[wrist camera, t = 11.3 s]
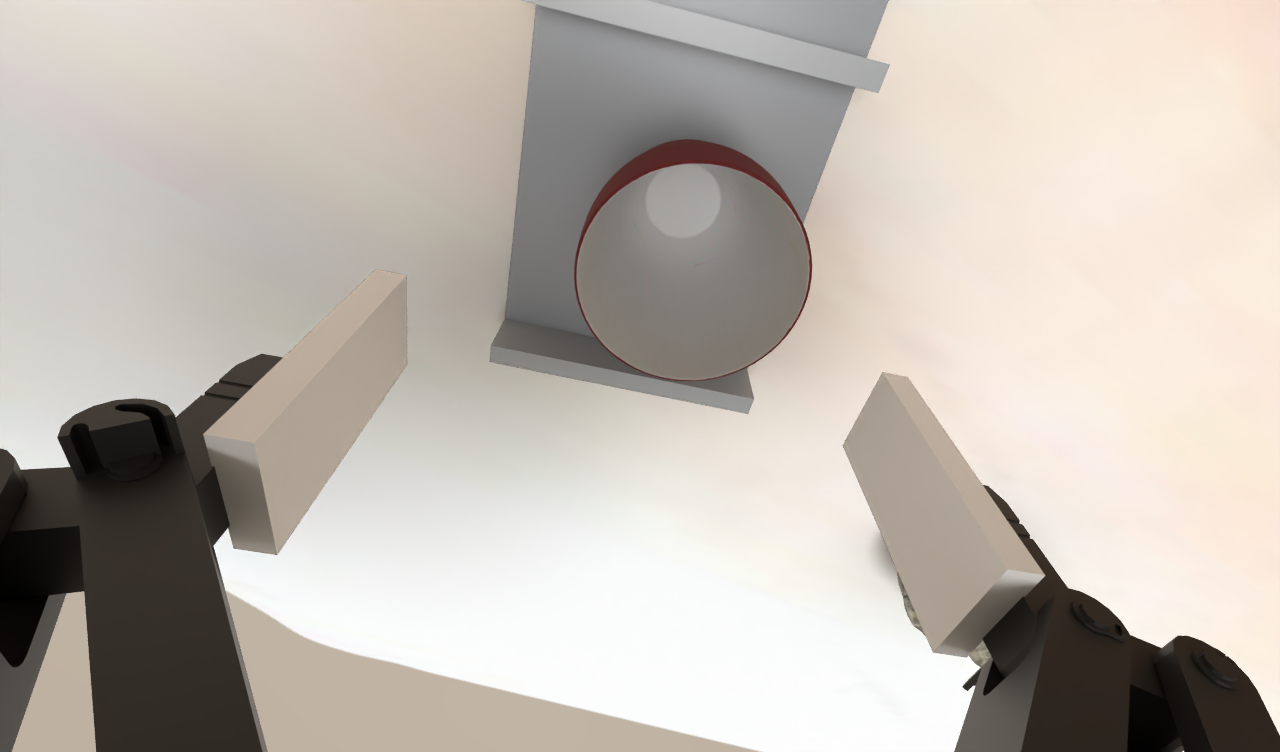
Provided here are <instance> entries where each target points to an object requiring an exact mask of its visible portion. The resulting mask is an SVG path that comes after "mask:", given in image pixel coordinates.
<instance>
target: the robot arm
mask: <svg viewBox="0 0 1280 752" xmlns="http://www.w3.org/2000/svg"><path fill="white" fill-rule="evenodd" d="M406 365H407V276H406V275H402V274H397V273H392V272H387V271H382V270H377V269H376V270H375V271H373V272H372V273H371V274H370V275H369V276H368V277H367V278H366V279H365V280H364V281H363V282H362V283H361V284H360V285H359V286H358V287H357V288H356V289H355V290H354V291H353V292H351V293H350V294H349V295H348V296H347V297H346V298H345V299H344V300H343V301H342V302H341V303H340V304H339V305H338V306H337V307H336V308H335V309H334V310H333V311H332V312H331V313H330V314H328V315H327V316H326V317H325V318H324V319H323V320H322V321H321V322H320V323H319V324H318V325H317V326H316V327H315V328H314V329H313V330H312V331H311V332H310V333H309V334H308V335H306V336H305V337H304V338H303V339H302V340H301V341H300V342H299V343H298V344H297V345H296V346H295V347H294V348H293V349H292V350H291V351H290V352H289V353H288V354H287V355H286V356H284V357H283V358H282V357H277V356H271V355H266V354H260V355H258V356H256V357H253V358H251V359H249V360H247V361H244V362H242V363H240V364H237V365H236V366H235V367H234V368H232V369H231V370H230V371H229V372H228V373H227V374H225V375H224V376H223V377H222V378H221V379H220V380H219V383H215V384H214V385H213V386H212V387H210V388H209V389H208V390H207V391H206V392H205V395H204V396H202V395H201V396H200V397H199V398H198V399H197V400H195V401H194V402H193V403H192V404H191V405H190V406H188V407H187V408H186V409H185V410H184V411H183V412H182V413H180V414H179V415H178V416H177V417H176V418H175V415H174V413H173V412H172V411H171V409H170V408H169V407H168V406H167V405H165V404H162V403H160V402H157V401H155V400H146V399H137V398H136V399H125V400H115V401H111V402H107V403H103V404H100V405H96V406H93V407H90V408H88V409H86V410H84V411H82V412H80V413H78V414H76V415H74V416H73V417H72V418H70V419H69V420H68V421H67V422H66V423H65V424H63V425H62V426H61V429H60V432H59V434H58V437H57V438H58V440H59V442H60V444H61V447H62V449H63V451H64V453H65V455H66V458H67V460H68V462H69V464H70V466H71V467H64V468H46V469H28V470H21V469H20V467H19V466H18V464H17V462H16V460H15V458H14V457H13V456H12V455H11V454H10V453H9V452H8V451H7V450H4V449H0V752H12V749H13V746H14V743H15V740H16V737H17V734H18V731H19V729H20V726H21V723H22V720H23V717H24V714H25V711H26V708H27V705H28V703H29V700H30V697H31V694H32V691H33V688H34V685H35V682H36V680H37V677H38V673H39V671H40V668H41V665H42V662H43V659H44V656H45V654H46V651H47V648H48V645H49V642H50V639H51V636H52V633H53V630H54V628H55V625H56V622H57V619H58V616H59V613H60V610H61V607H62V604H63V602H64V598H65V595H66V593H72V592H81V591H84V592H85V606H86V619H87V632H88V646H89V659H90V673H91V686H92V699H93V713H94V726H95V740H96V752H268V751H267V748H266V744H265V740H264V736H263V732H262V729H261V725H260V721H259V718H258V714H257V710H256V706H255V702H254V698H253V694H252V691H251V687H250V683H249V679H248V676H247V671H246V668H245V664H244V660H243V656H242V653H241V649H240V645H239V641H238V637H237V634H236V630H235V626H234V622H233V618H232V614H231V611H230V607H229V603H228V599H227V595H226V592H225V588H224V584H223V580H222V576H221V573H220V569H219V565H218V561H217V557H216V554H215V550H214V547H213V546H214V544H215V543H216V542H217V541H218V539H219V538H220V537H221V536H222V534H223V533H224V532H225V531H226V530H227V528H228V529H229V533H230V537H231V540H232V544H233V548H234V549H241V550H248V551H254V552H261V553H268V554H274V555H278V553H279V552H280V550H281V549H282V547H283V546H284V544H285V543H286V541H287V540H288V538H289V537H290V536H291V534H292V533H293V531H294V530H295V528H296V527H297V525H298V524H299V522H300V521H301V519H302V518H303V516H304V515H305V514H306V512H307V511H308V509H309V508H310V506H311V505H312V503H313V502H314V500H315V499H316V497H317V496H318V494H319V493H320V492H321V490H322V489H323V487H324V486H325V484H326V483H327V481H328V480H329V478H330V477H331V475H332V474H333V472H334V471H335V469H336V468H337V467H338V465H339V464H340V462H341V461H342V459H343V458H344V456H345V455H346V453H347V452H348V450H349V449H350V447H351V446H352V445H353V443H354V442H355V440H356V439H357V437H358V436H359V434H360V433H361V431H362V430H363V428H364V427H365V425H366V424H367V423H368V421H369V420H370V418H371V417H372V415H373V414H374V412H375V411H376V409H377V408H378V406H379V405H380V403H381V402H382V401H383V399H384V398H385V396H386V395H387V393H388V392H389V390H390V389H391V387H392V386H393V384H394V383H395V381H396V380H397V378H398V377H399V376H400V374H401V373H402V371H403V370H404V368H405V367H406ZM843 448H844V450H845V452H846V454H847V457H848V459H849V461H850V464H851V466H852V468H853V471H854V473H855V475H856V477H857V480H858V482H859V484H860V487H861V489H862V491H863V493H864V496H865V498H866V500H867V503H868V505H869V507H870V509H871V512H872V514H873V516H874V519H875V521H876V523H877V525H878V528H879V530H880V532H881V535H882V537H883V539H884V542H885V544H886V546H887V548H888V551H889V553H890V555H891V558H892V560H893V562H894V564H895V567H896V569H897V571H898V574H899V576H900V578H901V580H902V583H903V585H904V587H905V590H906V592H907V594H908V596H909V599H910V601H911V603H912V606H913V608H914V610H915V613H916V615H917V617H918V619H919V622H920V624H921V626H922V629H923V631H924V633H925V635H926V638H927V640H928V642H929V645H930V647H931V649H932V651H933V652H934V653H940V654H947V655H954V656H960V657H967V656H968V655H969V654H970V653H971V652H972V651H973V650H974V649H975V648H976V647H977V646H978V645H979V644H980V643H981V642H982V641H984V643H985V645H986V647H987V649H988V651H989V653H990V655H991V658H990V659H989V660H988V661H987V662H986V663H985V664H984V665H983V666H982V667H981V668H980V669H979V670H978V671H977V672H976V673H975V674H974V675H973V676H972V677H971V678H970V679H969V680H968V681H967V682H966V683H965V684H964V685H963V688H964V689H966V690H967V691H968V690H969V689H970V688H971V687H972V686H974V685H976V687H975V690H974V693H973V696H972V699H971V702H970V705H969V708H968V711H967V714H966V718H965V721H964V724H963V727H962V730H961V733H960V736H959V739H958V742H957V745H956V748H955V751H954V752H1182V751H1184V752H1280V735H1279V733H1278V731H1277V729H1276V727H1275V725H1274V723H1273V721H1272V719H1271V717H1270V715H1269V713H1268V711H1267V709H1266V707H1265V705H1264V703H1263V701H1262V699H1261V697H1260V695H1259V693H1258V691H1257V689H1256V688H1255V686H1254V685H1253V683H1252V682H1251V680H1250V679H1249V677H1248V676H1247V675H1246V674H1245V673H1244V672H1243V671H1242V670H1241V669H1240V668H1239V667H1238V666H1237V664H1236V663H1235V662H1234V661H1233V660H1231V659H1230V658H1229V657H1228V656H1227V657H1226V656H1225V654H1224V653H1222V652H1221V651H1219V650H1218V649H1216V648H1213V647H1212V646H1210V645H1208V644H1206V643H1205V642H1203V641H1201V640H1198V639H1195V638H1192V637H1190V636H1177V637H1176V638H1174V639H1173V640H1172V641H1170V642H1169V643H1168V644H1167V645H1165V646H1164V647H1163V648H1160V647H1157V646H1155V645H1153V644H1150V643H1148V642H1145V641H1143V640H1141V639H1138V638H1136V637H1133V636H1131V635H1129V632H1128V631H1127V629H1126V628H1125V626H1124V625H1123V623H1122V622H1121V621H1120V620H1119V619H1118V618H1117V617H1116V616H1115V615H1114V614H1113V613H1112V612H1111V611H1110V610H1109V609H1108V608H1107V607H1106V606H1104V605H1103V604H1101V603H1100V602H1099V601H1097V600H1096V599H1094V598H1092V597H1090V596H1088V595H1086V594H1084V593H1082V592H1080V591H1076V590H1073V589H1069V588H1067V586H1066V585H1065V583H1064V582H1063V581H1062V579H1061V578H1060V576H1059V575H1058V574H1057V572H1056V571H1055V569H1054V568H1053V567H1052V565H1051V564H1050V562H1049V561H1048V560H1047V558H1046V557H1045V555H1044V554H1043V553H1042V551H1041V550H1040V548H1039V547H1038V546H1037V544H1036V543H1035V541H1034V540H1033V539H1030V535H1029V533H1028V532H1027V530H1026V529H1025V528H1024V526H1023V525H1022V524H1019V522H1020V521H1019V519H1018V518H1017V516H1016V515H1015V514H1014V512H1013V511H1012V509H1011V508H1010V507H1009V505H1008V504H1007V503H1006V502H1005V501H1004V500H1003V499H1002V498H1001V497H1000V496H999V495H997V494H996V493H995V492H994V491H993V490H992V489H991V488H990V487H989V486H985V485H982V483H981V482H980V481H979V479H978V478H977V476H976V475H975V473H974V472H973V470H972V469H971V468H970V466H969V465H968V463H967V462H966V460H965V459H964V457H963V456H962V455H961V453H960V452H959V450H958V449H957V447H956V446H955V444H954V443H953V442H952V440H951V439H950V437H949V436H948V434H947V433H946V431H945V430H944V429H943V427H942V426H941V424H940V423H939V421H938V420H937V418H936V417H935V416H934V414H933V413H932V411H931V410H930V408H929V407H928V406H927V404H926V403H925V401H924V400H923V398H922V397H921V395H920V394H919V393H918V391H917V390H916V388H915V387H914V385H913V384H912V382H911V381H910V380H909V378H908V377H904V376H899V375H894V374H890V373H885V372H882V374H881V376H880V378H879V380H878V382H877V383H876V385H875V387H874V389H873V391H872V393H871V394H870V396H869V398H868V400H867V402H866V404H865V405H864V407H863V409H862V411H861V413H860V415H859V416H858V418H857V420H856V422H855V424H854V425H853V427H852V429H851V431H850V433H849V435H848V436H847V438H846V440H845V442H844V444H843Z"/></svg>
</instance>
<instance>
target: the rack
mask: <svg viewBox="0 0 1280 752" xmlns="http://www.w3.org/2000/svg"><path fill="white" fill-rule="evenodd" d="M521 1H525V2H529V3H533V4H536V12H535V22H534V32H533V42H532V52H531V62H530V72H529V82H528V92H527V102H526V113H525V123H524V133H523V143H522V153H521V163H520V173H519V183H518V193H517V203H516V213H515V223H514V233H513V243H512V253H511V263H510V273H509V283H508V293H507V303H506V313H505V320H504V321H503V323H502V325H501V327H500V329H499V331H498V333H497V335H496V337H495V339H494V341H493V343H492V345H491V352H490V362H493V363H498V364H503V365H508V366H513V367H518V368H523V369H528V370H533V371H538V372H543V373H548V374H552V375H557V376H562V377H567V378H572V379H577V380H582V381H587V382H592V383H597V384H602V385H607V386H612V387H617V388H622V389H627V390H632V391H637V392H642V393H647V394H652V395H657V396H662V397H667V398H672V399H677V400H682V401H687V402H692V403H696V404H701V405H706V406H711V407H716V408H721V409H726V410H731V411H736V412H741V413H746V414H748V413H749V410H750V408H751V405H752V403H753V400H754V397H753V393H752V389H751V384H750V380H749V376H748V372H747V368H748V367H747V368H745V369H743V370H740V371H738V372H736V373H733V374H730V375H727V376H724V377H720V378H716V379H710V380H704V381H674V380H667V379H662V378H658V377H654V376H651V375H648V374H645V373H642V372H640V371H638V370H636V369H633V368H632V367H630V366H628V365H626V364H625V363H623V362H622V361H620V360H619V359H617V358H616V357H615V356H613V355H612V354H611V353H610V352H609V351H608V350H607V349H606V348H605V347H604V346H602V345H601V343H600V342H599V341H598V340H597V339H596V337H595V336H594V335H593V333H592V332H591V330H590V329H589V327H588V325H587V323H586V322H585V320H584V317H583V315H582V313H581V310H580V307H579V304H578V301H577V296H576V291H575V283H574V265H575V256H576V252H577V247H578V243H579V239H580V235H581V232H582V229H583V226H584V223H585V221H586V218H587V215H588V213H589V210H590V208H591V206H592V204H593V202H594V201H595V199H596V197H597V196H598V194H599V192H600V191H601V190H602V188H603V187H604V186H605V184H606V183H607V182H608V181H609V180H610V178H611V177H612V176H613V175H614V174H615V173H616V172H617V171H618V170H619V169H621V168H622V167H623V166H624V165H625V164H627V163H628V162H629V161H631V160H632V159H634V158H635V157H637V156H639V155H640V154H642V153H644V152H646V151H647V150H649V149H651V148H653V147H655V146H657V145H660V144H663V143H666V142H670V141H674V140H682V139H694V140H702V141H707V142H711V143H716V144H720V145H723V146H726V147H729V148H732V149H734V150H736V151H738V152H741V153H742V154H744V155H746V156H748V157H749V158H751V159H753V160H754V161H755V162H757V163H758V164H759V165H761V166H762V167H763V168H764V169H765V170H766V171H767V172H769V173H770V174H771V175H772V176H773V178H774V179H775V180H776V181H777V182H778V183H779V184H780V186H781V187H782V189H783V190H784V192H785V193H786V194H787V196H788V198H789V199H790V201H791V202H792V204H793V206H794V208H795V210H796V212H797V213H798V215H799V217H800V219H801V221H802V223H803V222H804V219H805V217H806V214H807V212H808V209H809V206H810V204H811V201H812V199H813V196H814V193H815V191H816V188H817V185H818V183H819V180H820V178H821V175H822V172H823V170H824V167H825V165H826V162H827V159H828V157H829V154H830V152H831V149H832V146H833V144H834V141H835V139H836V136H837V133H838V131H839V128H840V126H841V123H842V120H843V118H844V115H845V113H846V110H847V107H848V105H849V102H850V100H851V97H852V94H853V92H854V89H855V87H857V88H861V89H865V90H868V91H872V92H876V93H879V90H880V88H881V85H882V83H883V80H884V78H885V75H886V73H887V70H888V68H889V66H890V64H886V63H882V62H878V61H875V60H871V59H867V55H868V53H869V50H870V47H871V45H872V42H873V40H874V37H875V34H876V32H877V29H878V27H879V24H880V21H881V19H882V16H883V14H884V11H885V8H886V6H887V3H888V1H889V0H521Z"/></svg>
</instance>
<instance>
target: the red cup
mask: <svg viewBox="0 0 1280 752" xmlns="http://www.w3.org/2000/svg"><path fill="white" fill-rule="evenodd" d="M811 276H812V258H811V250H810V245H809V241H808V237H807V233H806V231H805V228H804V226H803V223H802V221H801V219H800V217H799V215H798V213H797V212H796V210H795V208H794V206H793V204H792V202H791V201H790V199H789V198H788V196H787V194H786V193H785V192H784V190H783V189H782V187H781V186H780V184H779V183H778V182H777V181H776V180H775V179H774V178H773V176H772V175H771V174H770V173H769V172H767V171H766V170H765V169H764V168H763V167H762V166H761V165H759V164H758V163H757V162H755V161H754V160H753V159H751V158H749V157H748V156H746V155H744V154H742V153H741V152H738V151H736V150H734V149H732V148H729V147H726V146H723V145H720V144H716V143H711V142H707V141H702V140H694V139H682V140H674V141H670V142H666V143H663V144H660V145H657V146H655V147H653V148H651V149H649V150H647V151H646V152H644V153H642V154H640V155H639V156H637V157H635V158H634V159H632V160H631V161H629V162H628V163H627V164H625V165H624V166H623V167H622V168H621V169H619V170H618V171H617V172H616V173H615V174H614V175H613V176H612V177H611V178H610V180H609V181H608V182H607V183H606V184H605V186H604V187H603V188H602V190H601V191H600V192H599V194H598V196H597V197H596V199H595V201H594V202H593V204H592V206H591V208H590V210H589V213H588V215H587V218H586V221H585V223H584V226H583V229H582V232H581V235H580V239H579V243H578V247H577V252H576V256H575V265H574V283H575V291H576V296H577V301H578V304H579V307H580V310H581V313H582V315H583V317H584V320H585V322H586V323H587V325H588V327H589V329H590V330H591V332H592V333H593V335H594V336H595V337H596V339H597V340H598V341H599V342H600V343H601V345H602V346H604V347H605V348H606V349H607V350H608V351H609V352H610V353H611V354H612V355H613V356H615V357H616V358H617V359H619V360H620V361H622V362H623V363H625V364H626V365H628V366H630V367H632V368H633V369H636V370H638V371H640V372H642V373H645V374H648V375H651V376H654V377H658V378H662V379H667V380H674V381H704V380H710V379H716V378H720V377H724V376H727V375H730V374H733V373H736V372H738V371H740V370H743V369H745V368H747V367H749V366H751V365H752V364H754V363H756V362H757V361H759V360H760V359H762V358H763V357H765V356H766V355H767V354H769V353H770V352H771V351H772V350H773V349H774V348H776V347H777V346H778V345H779V344H780V343H781V342H782V340H783V339H784V338H785V337H786V336H787V335H788V333H789V332H790V331H791V329H792V328H793V326H794V325H795V323H796V322H797V320H798V318H799V316H800V314H801V312H802V310H803V308H804V305H805V303H806V300H807V297H808V293H809V289H810V283H811Z"/></svg>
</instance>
